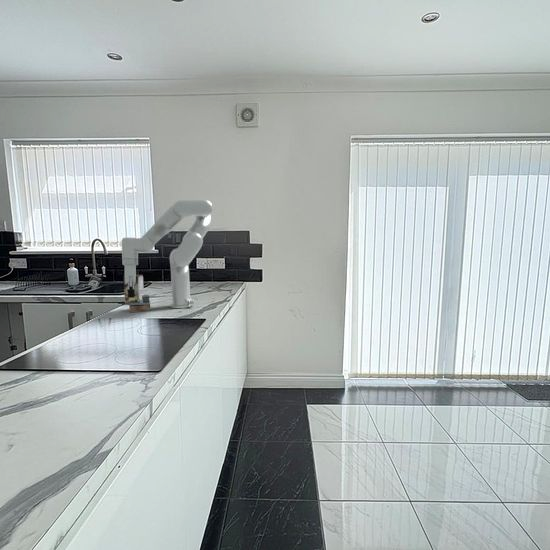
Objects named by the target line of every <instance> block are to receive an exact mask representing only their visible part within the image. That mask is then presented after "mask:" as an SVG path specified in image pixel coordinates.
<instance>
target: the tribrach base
mask: <svg viewBox="0 0 550 550" xmlns="http://www.w3.org/2000/svg"><path fill="white" fill-rule="evenodd" d="M128 306H129V313H138V312H139V313H140V312H149V310H151V309H152V308H151V304H150V305H128ZM151 311H152V310H151Z"/></svg>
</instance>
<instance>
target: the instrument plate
mask: <svg viewBox="0 0 550 550" xmlns="http://www.w3.org/2000/svg"><path fill="white" fill-rule="evenodd" d="M129 305H150V306H151V301H150V295H149V294H144V295H143V300H140V299H139V298H138V300H137V297H136V296H135V297H129ZM129 305H128V306H129Z"/></svg>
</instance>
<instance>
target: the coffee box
mask: <svg viewBox="0 0 550 550" xmlns="http://www.w3.org/2000/svg"><path fill="white" fill-rule="evenodd" d="M143 275H144V274H136V280H135V284H134V290H135V296H136V297H137V300H138V298H139V299H140V300H143V295H145V294H144V293H145V291H144V289H145V287H144V276H143ZM122 279H123V293H124V294H123V295H124V296H123V297H124V304H126V305H128V304H129V297H128V283H127V284H125V275H123V278H122Z"/></svg>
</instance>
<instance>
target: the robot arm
mask: <svg viewBox="0 0 550 550" xmlns="http://www.w3.org/2000/svg"><path fill="white" fill-rule="evenodd" d="M213 210H214V206H213V204H212V202H211V201H209V200H207V199H179V200H177V201H175V202H174V203H173V204H172V205H171V206H170V207H169V208H168V209H167V210H166V211H165V212H164V213H163V214H162V215H161V216H160V217H159V218H158V219H157V220H156V221H155V222H154V224H153V225H152V226H151V227H150V228H149V229H148V231H146V232H145V233H144V234H143V235H142V236H141V237H138V238H137V237H123V238H122V239H121V254H122V255H121V257H122V258H121V261H122V265H123V266H124V276H125V284H127V283H128V297H135V290H134V284H135V280H136V275H137V269H136V268H137V266H139V252H140V253H150V252H151V251H152V250H153V249H154V246H155V245H156V244H157V243H158V242H159V241H160V240H161V239H162V238H163V237H164V236H166V235H168V234H169V233H170V232H171V231H172V230H173V229H175V227H176V226H177V225H178V224H180V222H182V220H183V219H184V218H186V217H195V220H194V222H193V224H192V225H191V227H190V228H189V229H188V231H187V232H186V233H185V234H184V235H183V237H182V241H181V243H180V244H179V245H178V247H177V248H174V249H172V251H171V252H170V254H169V264H170V278H171V281H170V284H171V297H172V299H171V300H172V302H171V303H170V304H169V307H170V309H186V308H191V307H193V306H194V305H196V304H197V300H196V299H193V297H191V286H190V285H191V284H190V267H189V266H190V264H191V262H192V261H193V259H194V258H195V257H196V255H197V254H198V253H199V251H200V250H201V248H202V246H203V243H204V237H206V234H207V233H208V232H209V230H210V228H211V226H212V213H213Z"/></svg>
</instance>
